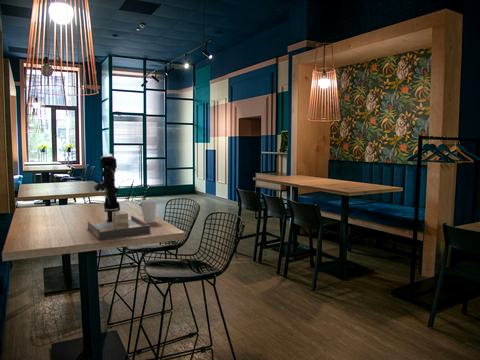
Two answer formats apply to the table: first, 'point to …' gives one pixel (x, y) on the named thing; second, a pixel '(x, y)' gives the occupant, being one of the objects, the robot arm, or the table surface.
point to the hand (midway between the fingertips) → (110, 203)
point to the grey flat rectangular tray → (109, 232)
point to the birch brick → (120, 220)
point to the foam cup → (148, 210)
